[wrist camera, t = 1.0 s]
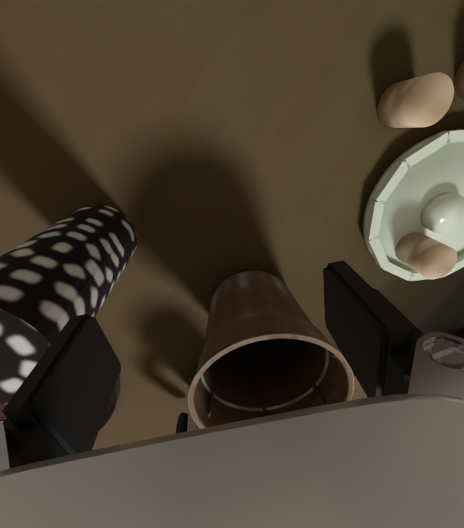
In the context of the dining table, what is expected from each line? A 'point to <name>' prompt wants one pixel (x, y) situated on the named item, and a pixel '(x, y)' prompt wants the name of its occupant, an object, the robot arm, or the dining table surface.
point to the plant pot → (263, 356)
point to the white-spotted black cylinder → (57, 284)
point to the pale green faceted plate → (418, 201)
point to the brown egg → (459, 81)
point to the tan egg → (416, 101)
